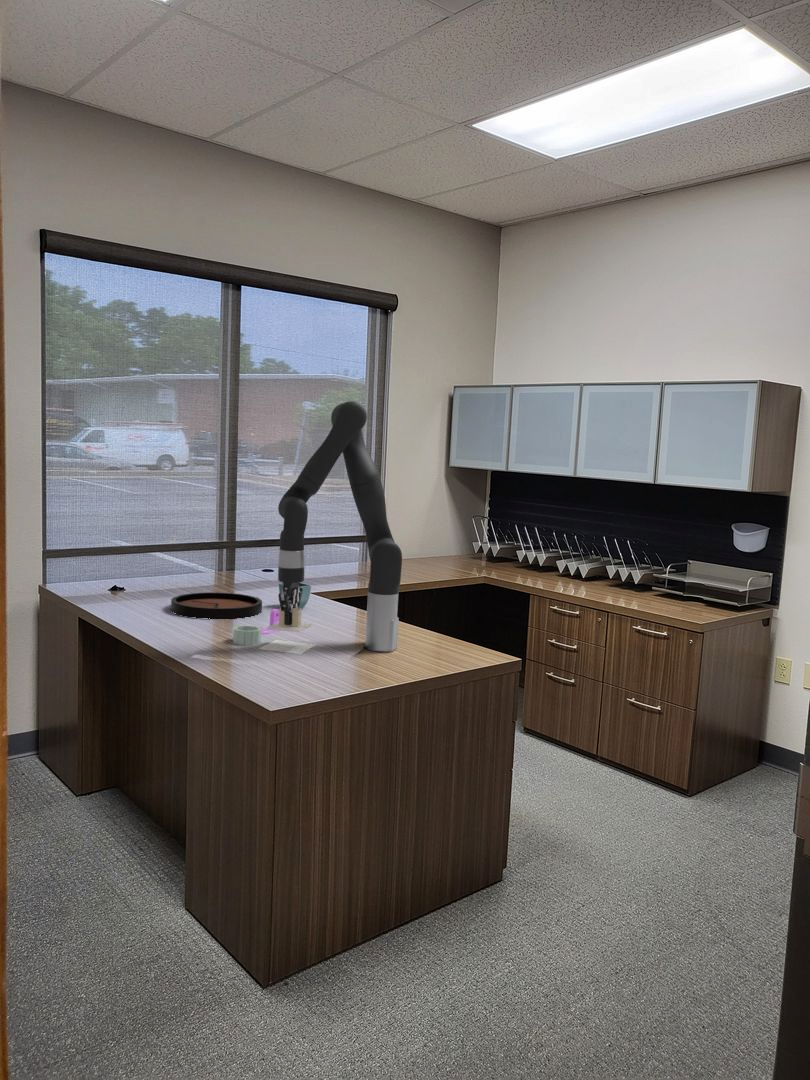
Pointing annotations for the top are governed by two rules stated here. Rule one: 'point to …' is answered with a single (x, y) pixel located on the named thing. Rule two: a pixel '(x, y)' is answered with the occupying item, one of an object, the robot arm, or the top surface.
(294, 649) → the mat
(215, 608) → the wall clock
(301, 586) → the flower pot
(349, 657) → the top surface
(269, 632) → the bracket
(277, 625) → the cover
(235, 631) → the cup
